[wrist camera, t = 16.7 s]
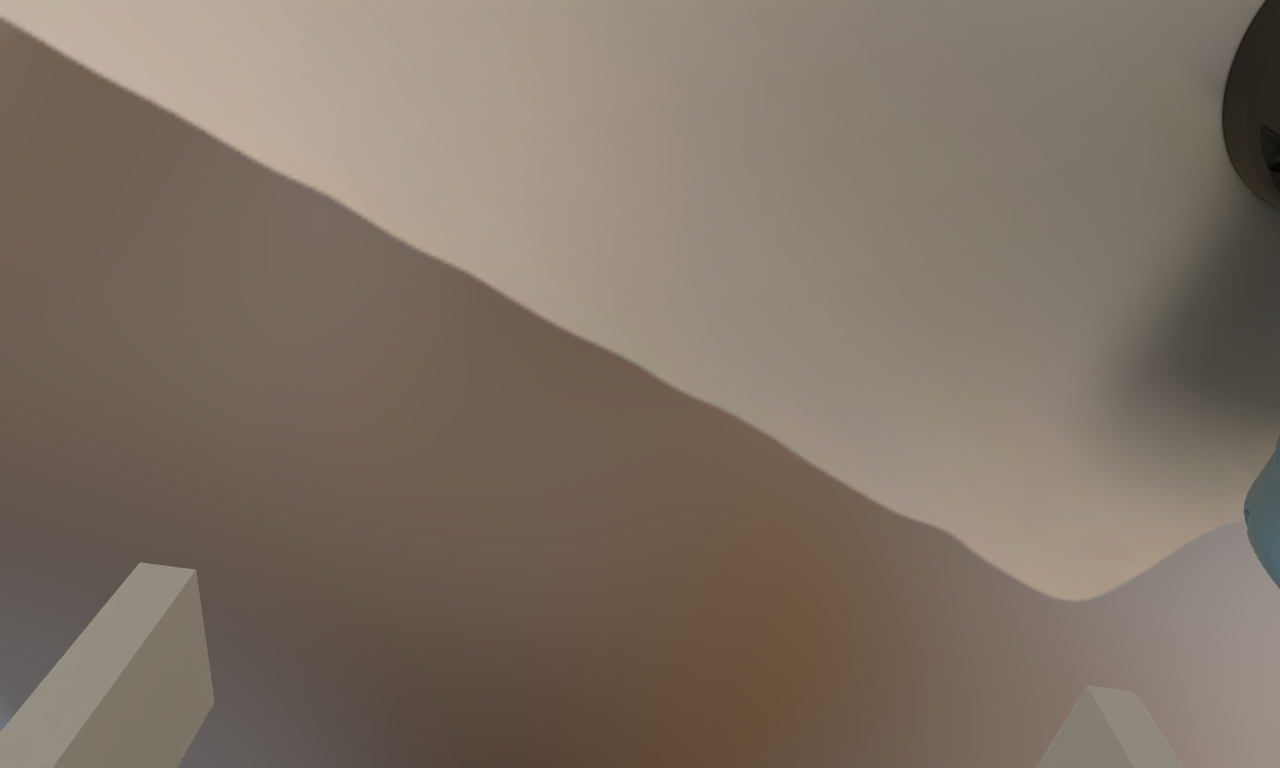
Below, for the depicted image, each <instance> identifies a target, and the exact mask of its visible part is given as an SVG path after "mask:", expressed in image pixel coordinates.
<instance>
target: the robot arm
mask: <svg viewBox="0 0 1280 768" xmlns="http://www.w3.org/2000/svg"><path fill="white" fill-rule="evenodd" d="M1224 130H1225V138H1226V144H1227V147H1228V151H1229V154H1230V157H1231V160H1232V162H1233V164H1234V166H1235V168H1236V170H1237V172H1238V174H1239V175H1240V177H1241V178H1242V180H1243V181H1244V182H1245V183H1246V185H1247V186H1248V187H1249V188H1250V189H1251V190H1252V191H1253V192H1254V193H1255V194H1257V195H1258V196H1259V197H1260V198H1262V199H1263V200H1265V201H1266V202H1268V203H1270V204H1272V205H1274V206H1276V207H1278V208H1280V0H1268V1H1267V2H1266V4H1265V5H1264V7H1263V8H1262V10H1261V11H1260V13H1259V14H1258V16H1257V17H1256V19H1255V21H1254V22H1253V24H1252V26H1251V27H1250V29H1249V31H1248V33H1247V35H1246V37H1245V39H1244V41H1243V43H1242V45H1241V47H1240V50H1239V52H1238V54H1237V57H1236V60H1235V62H1234V65H1233V68H1232V71H1231V75H1230V78H1229V82H1228V87H1227V92H1226V98H1225V107H1224ZM1244 516H1245V521H1246V525H1247V527H1248V529H1247V534H1248V538H1249V541H1250V543H1251V545H1252V547H1253V549H1254V552H1255V554H1256V555H1257V557H1258V559H1259V561H1260V562H1261V564H1262V566H1263V567H1264V568H1265V570H1266V571H1267V573H1268V574H1269V576H1270V577H1271V578H1272V580H1273V581H1274V582H1275V584H1276V585H1277V586H1278V587H1279V589H1280V436H1279V439H1278V442H1277V444H1276V451H1275V452H1274V454H1273V455H1272V457H1271V458H1270V460H1269V461H1268V463H1267V464H1266V466H1265V467H1264V468H1263V470H1262V471H1261V473H1260V474H1259V476H1258V477H1257V479H1256V480H1255V481H1254V483H1253V484H1252V486H1251V488H1250V489H1249V491H1248V494H1247V496H1246V500H1245V504H1244ZM213 703H214V696H213V689H212V682H211V676H210V667H209V660H208V653H207V646H206V639H205V632H204V624H203V617H202V610H201V603H200V595H199V589H198V581H197V574H196V570H193V569H185V568H177V567H170V566H162V565H155V564H147V563H139V565H138V566H137V567H136V568H135V569H134V570H133V572H132V573H131V574H130V575H129V577H128V578H127V579H126V580H125V581H124V583H123V584H122V585H121V586H120V588H119V589H118V590H117V591H116V592H115V594H114V595H113V596H112V597H111V598H110V600H109V601H108V602H107V604H106V605H105V606H104V607H103V608H102V609H101V611H100V612H99V613H98V614H97V615H96V617H95V618H94V619H93V621H92V622H91V623H90V624H89V625H88V626H87V628H86V629H85V630H84V631H83V632H82V634H81V635H80V636H79V637H78V639H77V640H76V641H75V642H74V644H73V645H72V646H71V647H70V648H69V650H68V651H67V652H66V653H65V654H64V656H63V657H62V658H61V659H60V661H59V662H58V663H57V664H56V666H55V667H54V668H53V669H52V670H51V671H50V673H49V674H48V675H47V676H46V677H45V679H44V680H43V681H42V682H41V684H40V685H39V686H38V687H37V688H36V690H35V691H34V692H33V693H32V695H31V696H30V697H29V698H28V699H27V701H26V702H25V703H24V704H23V705H22V707H21V708H20V709H19V710H18V712H17V713H16V714H15V715H14V716H13V718H12V719H11V720H10V721H9V723H8V724H7V725H6V726H5V727H4V729H3V730H2V731H1V732H0V768H177V766H178V765H179V762H180V761H181V759H182V758H183V756H184V754H185V752H186V751H187V749H188V747H189V745H190V744H191V742H192V740H193V738H194V737H195V735H196V733H197V731H198V730H199V728H200V726H201V724H202V723H203V721H204V719H205V718H206V716H207V714H208V712H209V711H210V709H211V707H212V705H213ZM1036 768H1183V766H1182V764H1181V763H1180V761H1179V760H1178V758H1177V756H1176V755H1175V753H1174V752H1173V750H1172V749H1171V747H1170V745H1169V744H1168V742H1167V741H1166V739H1165V738H1164V736H1163V734H1162V733H1161V731H1160V730H1159V728H1158V727H1157V725H1156V724H1155V722H1154V720H1153V719H1152V717H1151V715H1150V714H1149V712H1148V711H1147V710H1146V708H1145V706H1144V704H1143V703H1142V701H1141V700H1140V698H1139V697H1138V695H1137V694H1136V692H1134V691H1127V690H1119V689H1111V688H1103V687H1096V686H1086V688H1085V690H1084V691H1083V693H1082V694H1081V696H1080V698H1079V699H1078V701H1077V703H1076V704H1075V706H1074V707H1073V709H1072V711H1071V712H1070V714H1069V716H1068V717H1067V719H1066V720H1065V722H1064V724H1063V725H1062V727H1061V728H1060V730H1059V732H1058V733H1057V735H1056V736H1055V738H1054V740H1053V741H1052V743H1051V744H1050V746H1049V748H1048V750H1047V751H1046V753H1045V754H1044V756H1043V757H1042V759H1041V761H1040V763H1039V764H1038V765H1037V767H1036Z"/></svg>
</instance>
